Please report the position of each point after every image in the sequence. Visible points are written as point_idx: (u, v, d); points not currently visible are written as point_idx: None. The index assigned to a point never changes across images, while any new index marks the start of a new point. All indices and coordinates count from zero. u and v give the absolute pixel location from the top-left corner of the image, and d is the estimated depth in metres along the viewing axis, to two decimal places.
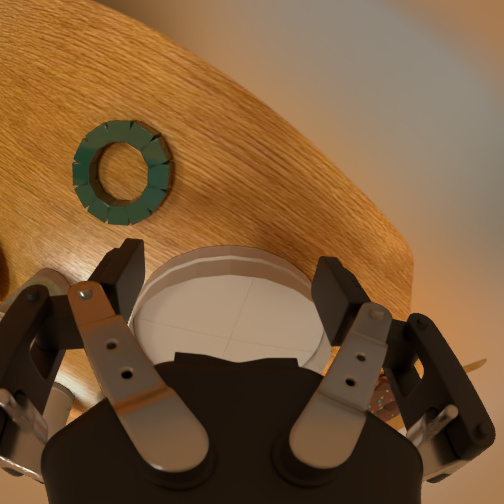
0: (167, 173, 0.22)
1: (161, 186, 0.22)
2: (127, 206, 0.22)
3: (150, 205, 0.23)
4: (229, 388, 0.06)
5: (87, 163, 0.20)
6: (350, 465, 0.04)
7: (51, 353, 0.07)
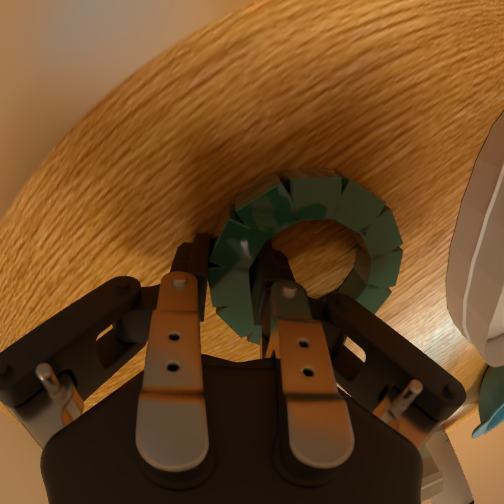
0: (362, 189, 0.11)
1: (376, 211, 0.11)
2: (369, 281, 0.13)
3: (391, 244, 0.12)
4: (229, 388, 0.06)
5: None
6: (350, 465, 0.04)
7: (124, 346, 0.08)
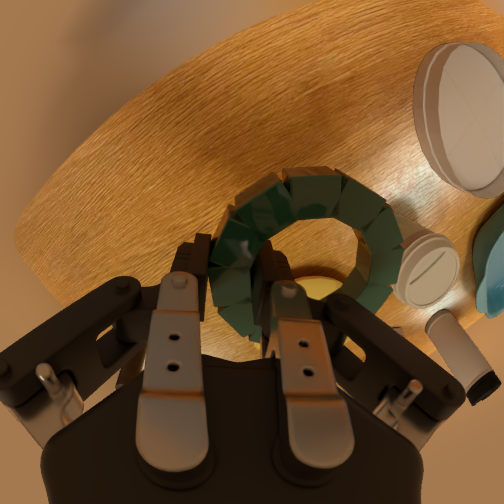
0: (362, 187, 0.11)
1: (376, 208, 0.11)
2: (370, 279, 0.13)
3: (392, 241, 0.12)
4: (229, 388, 0.06)
5: None
6: (350, 465, 0.04)
7: (124, 346, 0.08)
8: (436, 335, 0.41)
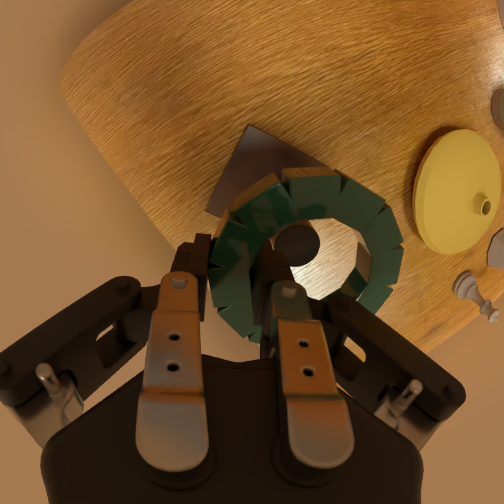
0: (362, 187, 0.11)
1: (376, 209, 0.11)
2: (370, 280, 0.13)
3: (391, 242, 0.12)
4: (229, 388, 0.06)
5: None
6: (350, 465, 0.04)
7: (124, 346, 0.08)
8: None
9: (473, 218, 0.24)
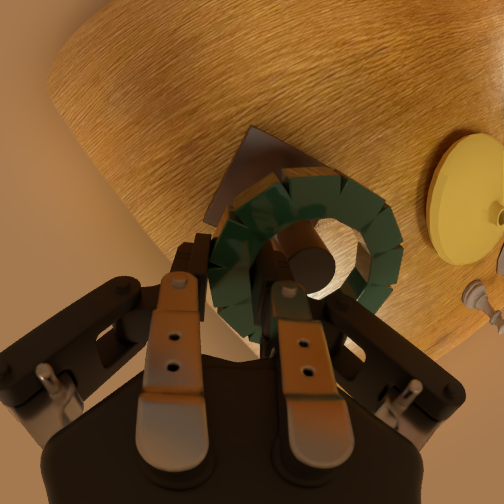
0: (362, 187, 0.11)
1: (376, 209, 0.11)
2: (369, 280, 0.13)
3: (391, 242, 0.12)
4: (229, 388, 0.06)
5: None
6: (350, 465, 0.04)
7: (124, 346, 0.08)
8: None
9: (488, 227, 0.22)
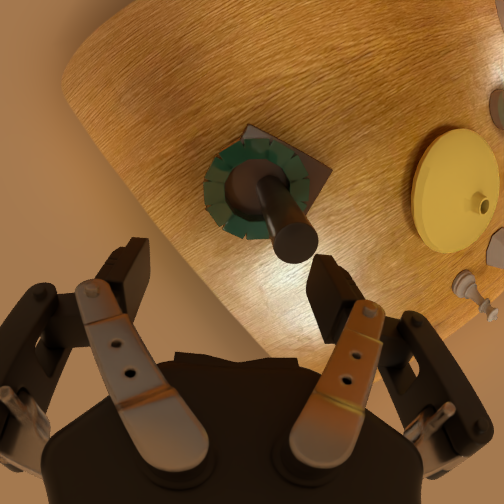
0: (280, 144, 0.22)
1: (289, 155, 0.23)
2: None
3: (300, 174, 0.24)
4: (229, 388, 0.06)
5: (231, 214, 0.25)
6: (350, 465, 0.04)
7: (57, 351, 0.07)
8: None
9: (472, 217, 0.25)
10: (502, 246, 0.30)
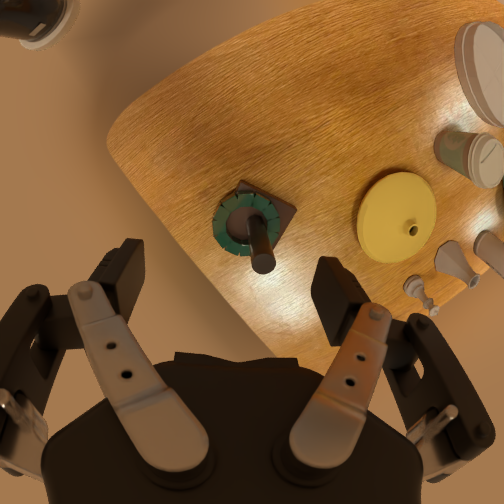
0: (260, 197, 0.37)
1: (266, 204, 0.37)
2: (267, 229, 0.39)
3: (274, 215, 0.38)
4: (229, 388, 0.06)
5: (230, 240, 0.40)
6: (350, 465, 0.04)
7: (51, 353, 0.07)
8: (484, 249, 0.44)
9: (406, 237, 0.39)
10: (447, 256, 0.45)
